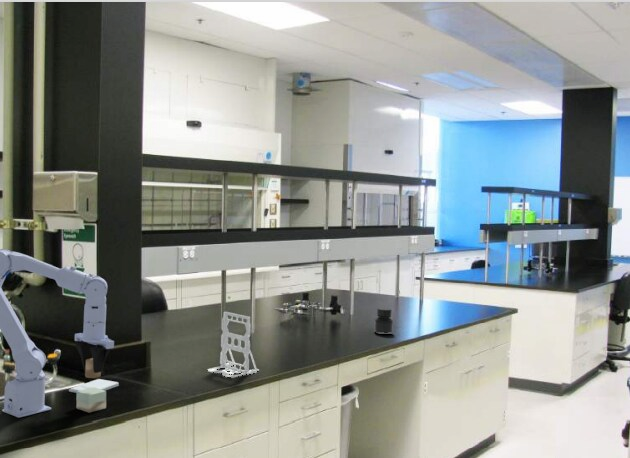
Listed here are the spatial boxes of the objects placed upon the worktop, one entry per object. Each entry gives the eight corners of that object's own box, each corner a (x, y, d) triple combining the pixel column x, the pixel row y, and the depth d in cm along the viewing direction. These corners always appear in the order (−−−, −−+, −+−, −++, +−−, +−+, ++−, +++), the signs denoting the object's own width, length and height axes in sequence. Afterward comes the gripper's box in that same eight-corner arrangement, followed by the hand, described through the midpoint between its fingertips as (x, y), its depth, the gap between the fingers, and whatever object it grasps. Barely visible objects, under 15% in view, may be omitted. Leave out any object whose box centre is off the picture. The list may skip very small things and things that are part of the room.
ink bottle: (393, 332, 308) (394, 308, 308) (393, 336, 300) (394, 311, 299) (373, 331, 309) (374, 307, 309) (373, 334, 301) (374, 309, 300)
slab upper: (88, 404, 170) (88, 395, 170) (76, 400, 173) (76, 391, 173) (105, 400, 175) (106, 391, 175) (93, 396, 178) (94, 387, 178)
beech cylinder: (90, 378, 171) (91, 362, 171) (82, 375, 174) (82, 359, 173) (103, 376, 174) (104, 359, 174) (94, 373, 177) (95, 357, 177)
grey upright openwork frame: (203, 370, 220) (206, 313, 220) (233, 364, 231) (235, 309, 230) (231, 379, 211) (234, 319, 210) (261, 372, 221) (263, 315, 221)
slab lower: (88, 413, 170) (89, 404, 170) (76, 409, 173) (76, 400, 173) (105, 409, 175) (106, 400, 175) (93, 404, 178) (93, 395, 178)
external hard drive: (118, 387, 197) (90, 397, 185) (97, 383, 200) (68, 393, 188) (118, 382, 197) (90, 392, 185) (97, 378, 200) (68, 387, 188)
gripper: (124, 323, 173) (121, 372, 173) (90, 316, 181) (88, 363, 181) (102, 326, 167) (100, 377, 167) (68, 318, 175) (66, 367, 175)
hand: (92, 370), depth 174 cm, fingers closed on beech cylinder, 4 cm apart
